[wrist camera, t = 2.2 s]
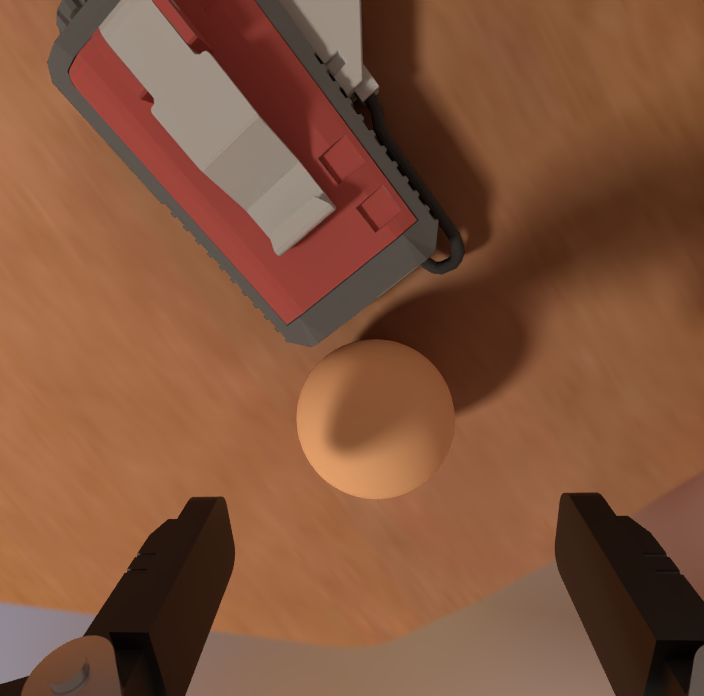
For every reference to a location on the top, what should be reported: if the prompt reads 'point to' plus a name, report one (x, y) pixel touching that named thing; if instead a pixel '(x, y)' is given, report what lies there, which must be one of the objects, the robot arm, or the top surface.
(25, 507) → the top surface
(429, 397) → the ball
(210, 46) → the walkie-talkie
